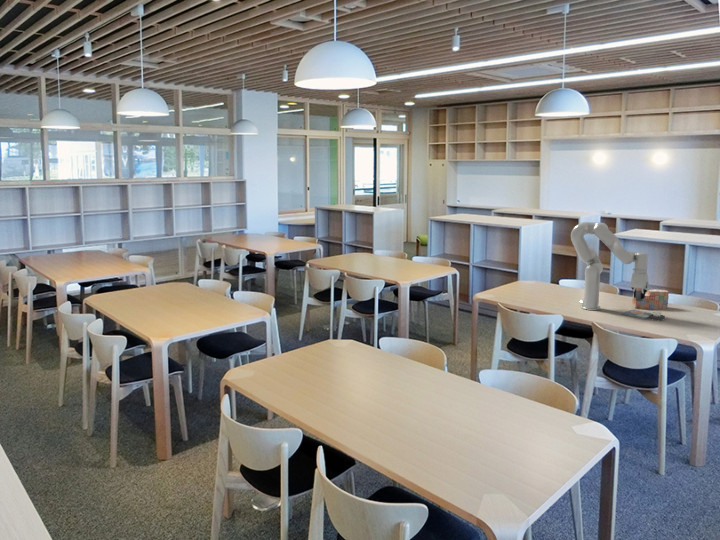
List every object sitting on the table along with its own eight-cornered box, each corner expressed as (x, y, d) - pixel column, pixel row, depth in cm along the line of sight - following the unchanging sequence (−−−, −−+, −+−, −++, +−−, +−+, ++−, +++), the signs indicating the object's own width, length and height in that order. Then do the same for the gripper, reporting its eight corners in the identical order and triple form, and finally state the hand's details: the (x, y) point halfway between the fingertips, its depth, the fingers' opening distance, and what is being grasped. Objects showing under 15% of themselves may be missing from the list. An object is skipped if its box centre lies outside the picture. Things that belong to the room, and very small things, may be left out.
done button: (651, 316, 381) (651, 312, 380) (655, 315, 383) (656, 311, 383) (658, 317, 377) (658, 314, 377) (662, 316, 379) (662, 312, 379)
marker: (633, 300, 393) (634, 286, 391) (637, 299, 395) (638, 285, 394) (640, 301, 389) (640, 287, 387) (644, 300, 391) (645, 286, 390)
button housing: (648, 318, 382) (649, 315, 381) (655, 317, 385) (655, 313, 384) (658, 320, 376) (658, 317, 376) (664, 319, 379) (665, 315, 379)
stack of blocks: (635, 308, 407) (636, 291, 405) (631, 306, 413) (633, 289, 411) (667, 308, 405) (669, 291, 403) (663, 306, 411) (665, 289, 409)
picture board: (620, 313, 395) (620, 312, 394) (633, 310, 402) (633, 309, 401) (644, 319, 380) (644, 317, 380) (657, 316, 387) (657, 314, 387)
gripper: (625, 270, 394) (624, 296, 397) (649, 273, 380) (647, 301, 383) (632, 268, 398) (631, 295, 401) (656, 272, 384) (654, 299, 387)
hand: (639, 297), depth 392 cm, fingers closed on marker, 4 cm apart
